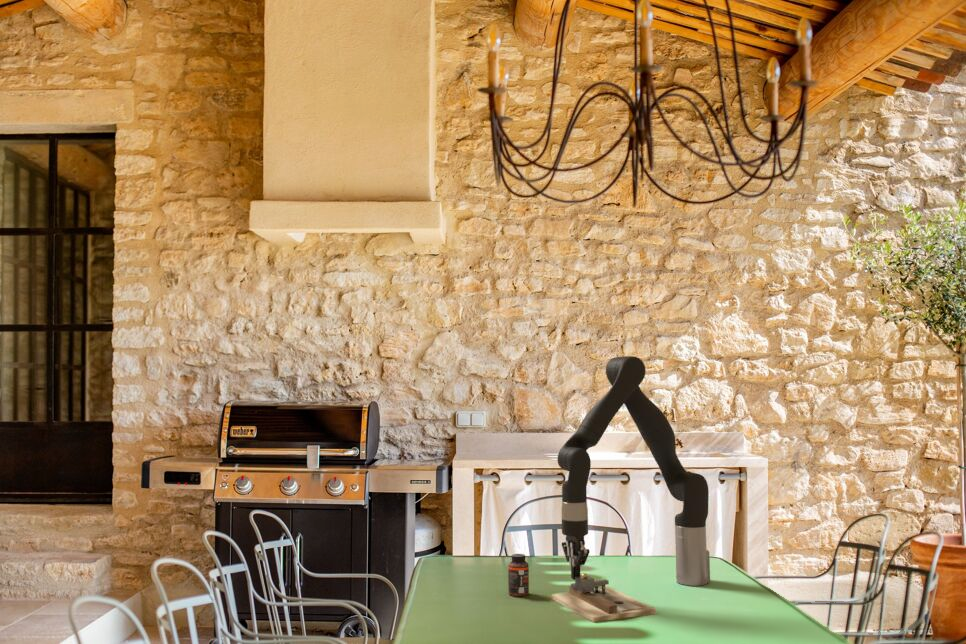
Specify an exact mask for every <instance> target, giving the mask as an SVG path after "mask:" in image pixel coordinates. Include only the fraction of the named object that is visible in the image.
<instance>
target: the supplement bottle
mask: <svg viewBox="0 0 966 644" xmlns="http://www.w3.org/2000/svg"><path fill="white" fill-rule="evenodd" d="M510 558H511V560H510V562H509V563H508V566H507V567H508V568H507V569H508V573H507V574H508V576H507V577H508V581H507V582H508V583H507V584H508V594H509V595H510V596H511V597H518V598H519V597H520V598H521V597H526V596H528V595H529V594H530V591H529V590H530V588H529V587H530V586H529V585H530V582H529V581H530V575H529V573H530V570H529V563H528V562H527V561H526V555H525V554H524V553H514V554H511V557H510Z"/></svg>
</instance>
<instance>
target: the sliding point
mask: <svg viewBox="0 0 966 644" xmlns="http://www.w3.org/2000/svg"><path fill="white" fill-rule="evenodd" d="M609 582H610V581H609V579H597V580H596V579H595V578H593V577H591V576H589V575H588V573H581V575H580V577H575V580H574V583H575V590H577V591H579V592H581V593H586V592H594V589H595V587H594V586H598V585H602V586H601V588H602V594H603V595H605V588H606V585H609V584H610V583H609Z"/></svg>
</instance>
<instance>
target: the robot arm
mask: <svg viewBox="0 0 966 644" xmlns="http://www.w3.org/2000/svg"><path fill="white" fill-rule="evenodd" d="M646 371H647V369H646V365H645V363H644V361H643V360H642V359H641V358H639V357H637V356H633V355H632V356H631V355H629V356H628V355H626V356H615V357H613V358H610V359H609V360H608V361H607V363H606V366H605V375H606V379H607V380H608V382H609V384H610V385H611V387H610V389H609V390H608V391H607V392H606V393H605V395H604V396H603V397H602V398H601V399H600V400H599V401H598V402H597V403H595V404H594V405H593V406H592V408H591V409H590V410H589V411H588V412H587V413H586V415H585V416H584V418H583V420H582V421H581V423H580V424H579V426H578V428H577V430H576V431H575V432H574V434H572V435H571V436H570V437H569V438H568V439H567V441H566V442H565V443H564V444H563V445H562V447H561V448H560V450H559V451H558V454H557V459H556V460H557V465H558V466H559V468H560V469H562V470H563V471H567V472H568V477H567V480H565V481H563V482H562V486H561V500H562V501H561V534H562V535H563V536H565V541H564V542H561V547H562V551H563V554H564V556H565V559H566V562H567V563H569V566H570V576H571V577H570V578H571V580H574V581H575V577H581V567H582V566H584V565H586V562H587V559H588V557H589V555H590V548H586V547H585V546H586V541H585V536H587V535H589V511H588V510H589V509H588V501H587V497H588V496H587V486H588V482H589V477H590V472H591V466H592V465H591V464H592V463H591V458H590V455H589V452H588V449H590V448H592V447H596V446H597V444H598V443H599V442H600V441H601V438H602V437H603V435H604V433H605V432H606V430H607V429H608V426H609V425H610V423H611V422H612V420H613V419H614V417H615V416H616V415H617V413H618V412H619V410H620V409H621V408H622V407H623V405H624V406H625V407H626V410H627V411H628V413H629V416H630V417H631V419H632V420H633V422H634V424H635V425H636V428H637V430H638V432H639V434H640V436H641V437H642V439H643V441H644V443H645V444H646V446H647V448H648V450H649V451H650V453H651V455H652V457H653V459H654V460H655V462H656V465H657V466H658V468H659V471H660V473H661V474H662V477H663V480H664V482H665V485H666V487H667V489H668V491H669V493H670V495H671V496H672V497H673V498H674V499H675V500H676V501H680V502H683V505H682V511H681V512H680V513H677V514H676V515H675V516H674V535H675V536H674V538H675V540H674V541H675V573H676V575H675V577H676V583H678V584H681V585H684V586H691V587H692V586H694V587H697V586H698V587H699V586H705V585H707V584H710V583H711V562H710V559H711V558H710V557H711V556H710V550H708V548H707V519H708V515H709V500H710V499H709V497H710V496H709V493H710V492H709V484H708V482H707V479H706V478H705V476H704V475H702V474H700V473H695V472H690V471H687V469H685V468H684V466H683V465H682V462H681V460H680V459H679V458H678V455H677V451H676V445H677V444H676V434H675V432H674V430H673V428H672V426H671V423H670V421H669V420H668V418H667V416H666V415H665V414H664V412H663V411H662V410H661V409H660V408H659V407H658V406H657V405H656V404H655V403H654V402H653V401H652V400H651V399H649V397H647V395H645V393H644V392H643V391H642V389H641V387H640V385H641V383H642V382H643V380H644V379H645V376H646Z"/></svg>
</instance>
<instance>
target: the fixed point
mask: <svg viewBox="0 0 966 644" xmlns="http://www.w3.org/2000/svg"><path fill="white" fill-rule="evenodd" d="M570 586H571V588H572V589H574V590H575V582H574V583H572V582H571V583H570ZM599 587H601V588H602V585H598V586H594V589H595V592H598V589H599Z"/></svg>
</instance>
